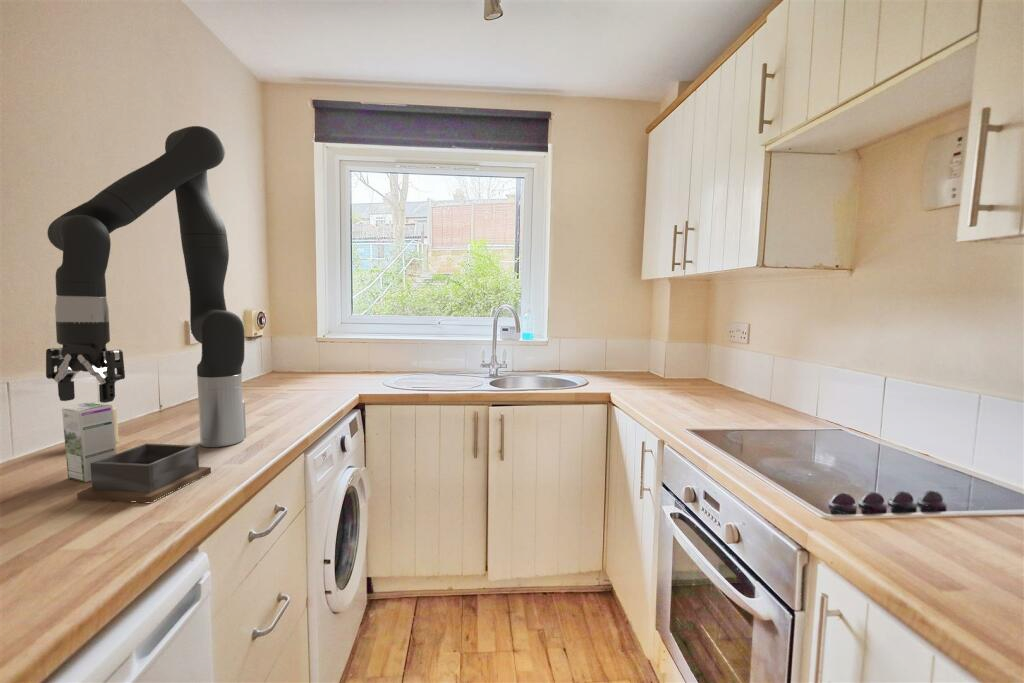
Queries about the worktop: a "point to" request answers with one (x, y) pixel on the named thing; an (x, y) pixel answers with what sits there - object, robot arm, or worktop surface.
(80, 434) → the syrup box
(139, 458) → the holder
